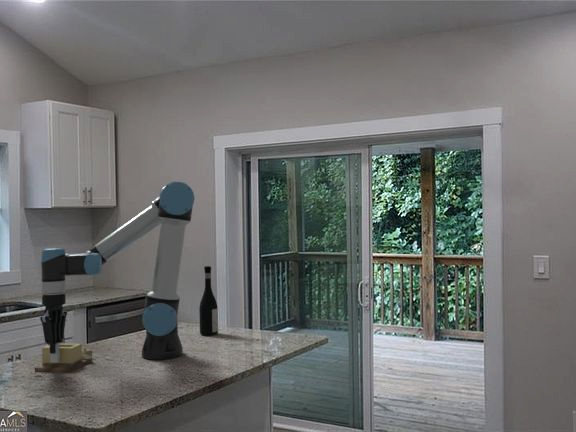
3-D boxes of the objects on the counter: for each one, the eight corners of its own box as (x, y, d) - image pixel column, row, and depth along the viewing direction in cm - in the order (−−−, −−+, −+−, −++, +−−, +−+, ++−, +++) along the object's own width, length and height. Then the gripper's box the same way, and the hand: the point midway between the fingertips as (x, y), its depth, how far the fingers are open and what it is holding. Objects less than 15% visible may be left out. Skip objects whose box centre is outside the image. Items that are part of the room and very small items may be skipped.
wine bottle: (218, 332, 263) (217, 265, 263) (217, 335, 255) (216, 266, 255) (200, 332, 263) (199, 265, 263) (198, 336, 255) (197, 267, 255)
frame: (82, 360, 209) (81, 343, 209) (71, 365, 202) (71, 348, 202) (53, 360, 211) (53, 343, 211) (42, 364, 204) (42, 347, 204)
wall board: (92, 361, 213) (92, 348, 213) (69, 372, 198) (69, 358, 198) (59, 360, 215) (59, 348, 215) (34, 371, 201) (34, 357, 201)
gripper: (54, 291, 208) (55, 357, 208) (32, 295, 196) (33, 366, 195) (73, 291, 207) (75, 358, 207) (53, 295, 194) (54, 367, 194)
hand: (54, 362), depth 201 cm, fingers closed
